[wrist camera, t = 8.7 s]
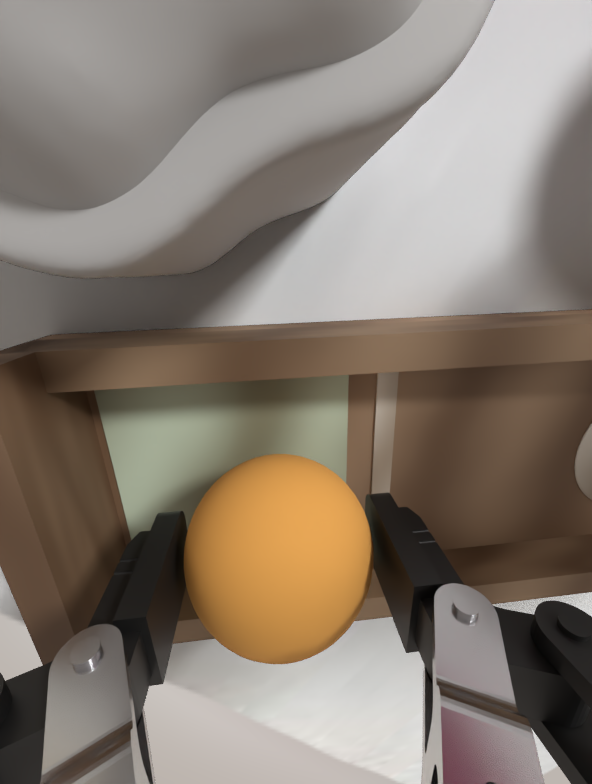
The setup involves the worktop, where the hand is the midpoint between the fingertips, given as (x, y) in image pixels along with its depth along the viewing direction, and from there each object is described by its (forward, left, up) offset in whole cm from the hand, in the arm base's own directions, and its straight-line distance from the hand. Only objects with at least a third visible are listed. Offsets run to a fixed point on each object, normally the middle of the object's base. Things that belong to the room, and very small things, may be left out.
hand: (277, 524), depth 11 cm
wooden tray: (-7, 0, -4) cm, 8 cm away
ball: (0, 0, +1) cm, 1 cm away
